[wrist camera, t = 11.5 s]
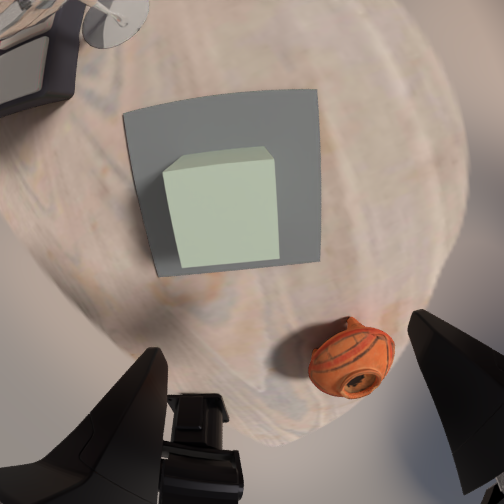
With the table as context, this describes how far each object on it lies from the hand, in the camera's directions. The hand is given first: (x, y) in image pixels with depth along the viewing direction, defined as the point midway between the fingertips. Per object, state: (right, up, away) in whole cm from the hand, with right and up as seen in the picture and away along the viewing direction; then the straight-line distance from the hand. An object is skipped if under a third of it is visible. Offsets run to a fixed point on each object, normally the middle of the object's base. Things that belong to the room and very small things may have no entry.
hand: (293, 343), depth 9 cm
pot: (+7, -5, +16) cm, 18 cm away
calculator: (-18, +21, +1) cm, 27 cm away
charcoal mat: (-3, +7, +9) cm, 12 cm away
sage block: (-3, +7, +9) cm, 11 cm away
